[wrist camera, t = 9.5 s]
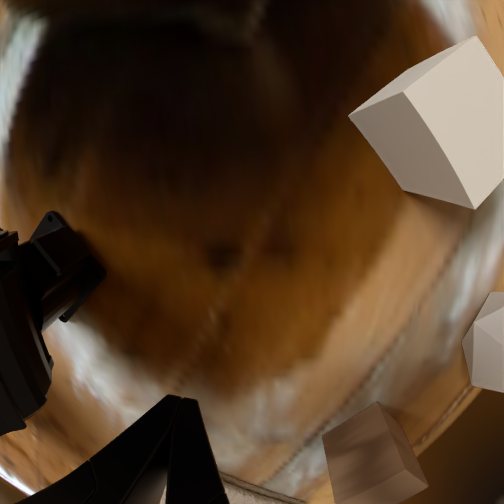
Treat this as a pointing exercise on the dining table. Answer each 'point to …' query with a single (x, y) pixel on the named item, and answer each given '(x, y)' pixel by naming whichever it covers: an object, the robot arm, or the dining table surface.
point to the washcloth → (248, 493)
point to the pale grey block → (441, 125)
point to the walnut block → (372, 460)
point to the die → (487, 345)
